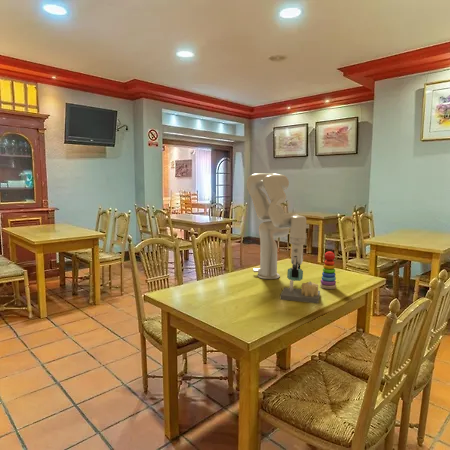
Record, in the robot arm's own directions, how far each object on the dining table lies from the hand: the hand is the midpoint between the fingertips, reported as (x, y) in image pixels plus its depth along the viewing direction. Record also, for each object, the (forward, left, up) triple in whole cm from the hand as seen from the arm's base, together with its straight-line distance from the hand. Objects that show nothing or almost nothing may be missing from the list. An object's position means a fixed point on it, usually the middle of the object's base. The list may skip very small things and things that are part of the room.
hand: (295, 274), depth 176 cm
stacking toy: (+16, +7, -8) cm, 19 cm away
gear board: (+4, -12, -7) cm, 14 cm away
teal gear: (0, 0, -2) cm, 2 cm away
